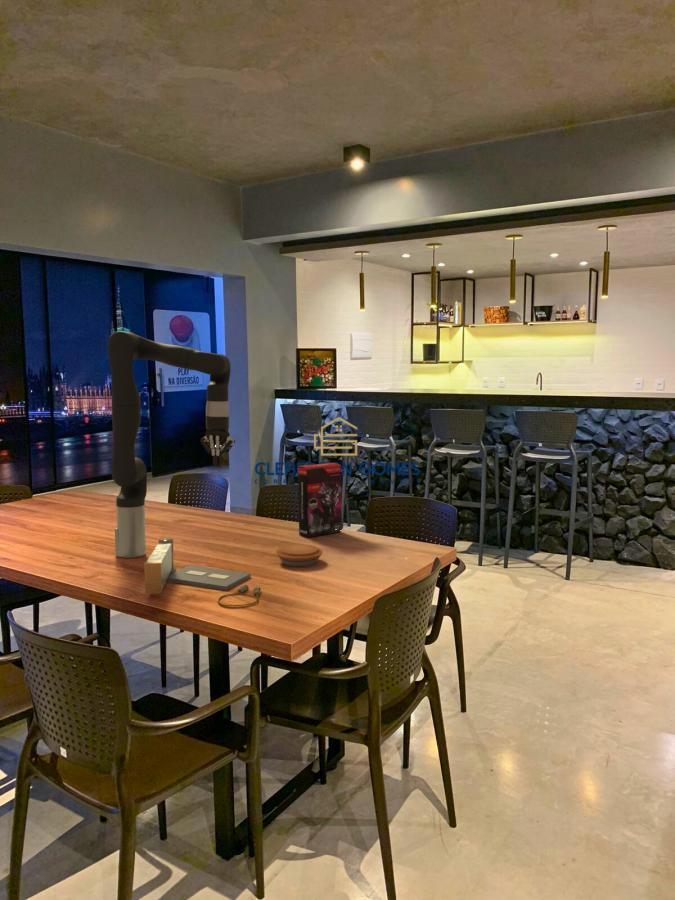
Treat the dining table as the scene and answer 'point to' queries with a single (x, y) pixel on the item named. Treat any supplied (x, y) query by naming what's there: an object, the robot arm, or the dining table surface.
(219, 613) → the dining table surface
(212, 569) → the panel
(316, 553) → the pie
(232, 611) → the dining table surface
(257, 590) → the extension cord
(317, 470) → the graphics card box
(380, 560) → the dining table surface
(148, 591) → the grey rectangular block
